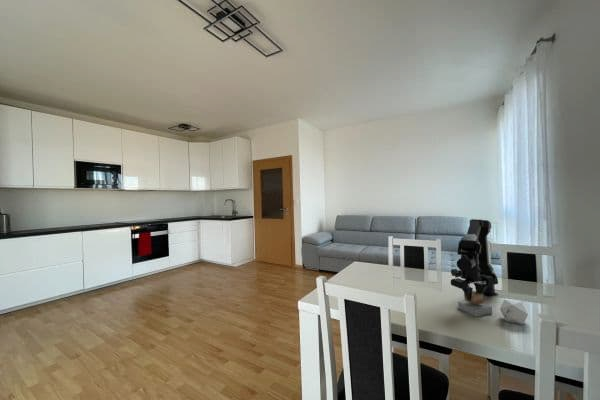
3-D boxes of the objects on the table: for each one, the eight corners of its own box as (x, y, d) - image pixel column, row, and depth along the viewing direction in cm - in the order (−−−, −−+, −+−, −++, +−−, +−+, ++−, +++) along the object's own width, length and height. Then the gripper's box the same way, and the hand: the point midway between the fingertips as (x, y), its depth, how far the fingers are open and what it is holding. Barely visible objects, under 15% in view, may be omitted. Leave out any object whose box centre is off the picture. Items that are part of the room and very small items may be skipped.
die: (495, 316, 102) (493, 303, 97) (510, 304, 102) (509, 291, 98) (517, 332, 94) (516, 319, 90) (534, 319, 95) (533, 305, 90)
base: (473, 305, 112) (473, 298, 112) (492, 313, 103) (491, 306, 103) (458, 307, 110) (457, 301, 110) (475, 316, 101) (475, 309, 102)
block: (483, 303, 105) (482, 294, 105) (474, 304, 104) (473, 296, 104) (473, 298, 110) (472, 290, 110) (464, 300, 109) (463, 292, 109)
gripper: (472, 260, 117) (474, 290, 116) (440, 264, 113) (442, 296, 113) (494, 265, 106) (497, 299, 105) (459, 270, 102) (462, 305, 102)
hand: (473, 299), depth 107 cm, fingers closed on block, 5 cm apart
